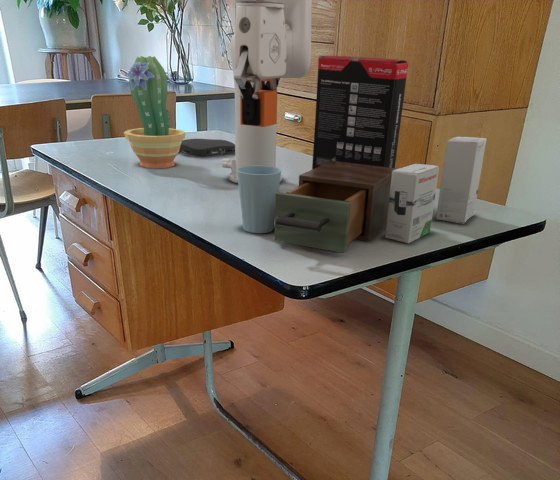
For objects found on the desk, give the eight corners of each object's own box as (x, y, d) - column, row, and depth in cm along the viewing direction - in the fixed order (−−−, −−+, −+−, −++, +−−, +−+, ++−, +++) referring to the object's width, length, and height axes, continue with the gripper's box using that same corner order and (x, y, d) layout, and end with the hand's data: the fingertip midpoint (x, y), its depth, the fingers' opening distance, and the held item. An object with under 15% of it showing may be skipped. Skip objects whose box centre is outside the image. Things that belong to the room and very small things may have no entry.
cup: (282, 224, 110) (283, 166, 105) (277, 236, 104) (278, 175, 98) (241, 221, 111) (241, 164, 105) (234, 234, 104) (233, 173, 99)
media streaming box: (212, 146, 180) (212, 135, 178) (240, 154, 170) (240, 143, 169) (170, 150, 172) (169, 139, 170) (197, 158, 162) (196, 147, 160)
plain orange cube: (240, 124, 100) (240, 90, 97) (253, 121, 103) (253, 89, 101) (264, 127, 98) (264, 92, 96) (276, 124, 102) (277, 91, 99)
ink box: (406, 228, 110) (416, 161, 104) (430, 233, 108) (441, 165, 102) (383, 238, 104) (391, 168, 98) (407, 244, 102) (417, 173, 96)
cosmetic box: (464, 224, 113) (479, 142, 106) (433, 219, 116) (446, 139, 108) (474, 215, 120) (489, 137, 112) (444, 210, 122) (457, 133, 115)
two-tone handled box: (332, 262, 90) (336, 211, 86) (260, 249, 95) (260, 200, 91) (372, 230, 105) (376, 185, 102) (308, 219, 110) (310, 176, 106)
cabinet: (367, 241, 103) (373, 184, 98) (296, 229, 108) (299, 175, 103) (393, 219, 115) (399, 168, 110) (328, 210, 120) (331, 160, 115)
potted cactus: (116, 162, 154) (104, 54, 142) (166, 156, 163) (159, 54, 151) (146, 173, 145) (137, 57, 132) (198, 166, 154) (194, 57, 141)
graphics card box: (393, 201, 127) (411, 58, 114) (381, 208, 122) (398, 59, 108) (322, 190, 134) (331, 54, 121) (308, 196, 129) (315, 55, 116)
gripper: (254, -7, 84) (254, 130, 93) (304, 0, 97) (299, 120, 106) (210, -7, 86) (213, 126, 96) (264, 0, 100) (262, 117, 109)
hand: (258, 122), depth 101 cm, fingers closed on plain orange cube, 4 cm apart
